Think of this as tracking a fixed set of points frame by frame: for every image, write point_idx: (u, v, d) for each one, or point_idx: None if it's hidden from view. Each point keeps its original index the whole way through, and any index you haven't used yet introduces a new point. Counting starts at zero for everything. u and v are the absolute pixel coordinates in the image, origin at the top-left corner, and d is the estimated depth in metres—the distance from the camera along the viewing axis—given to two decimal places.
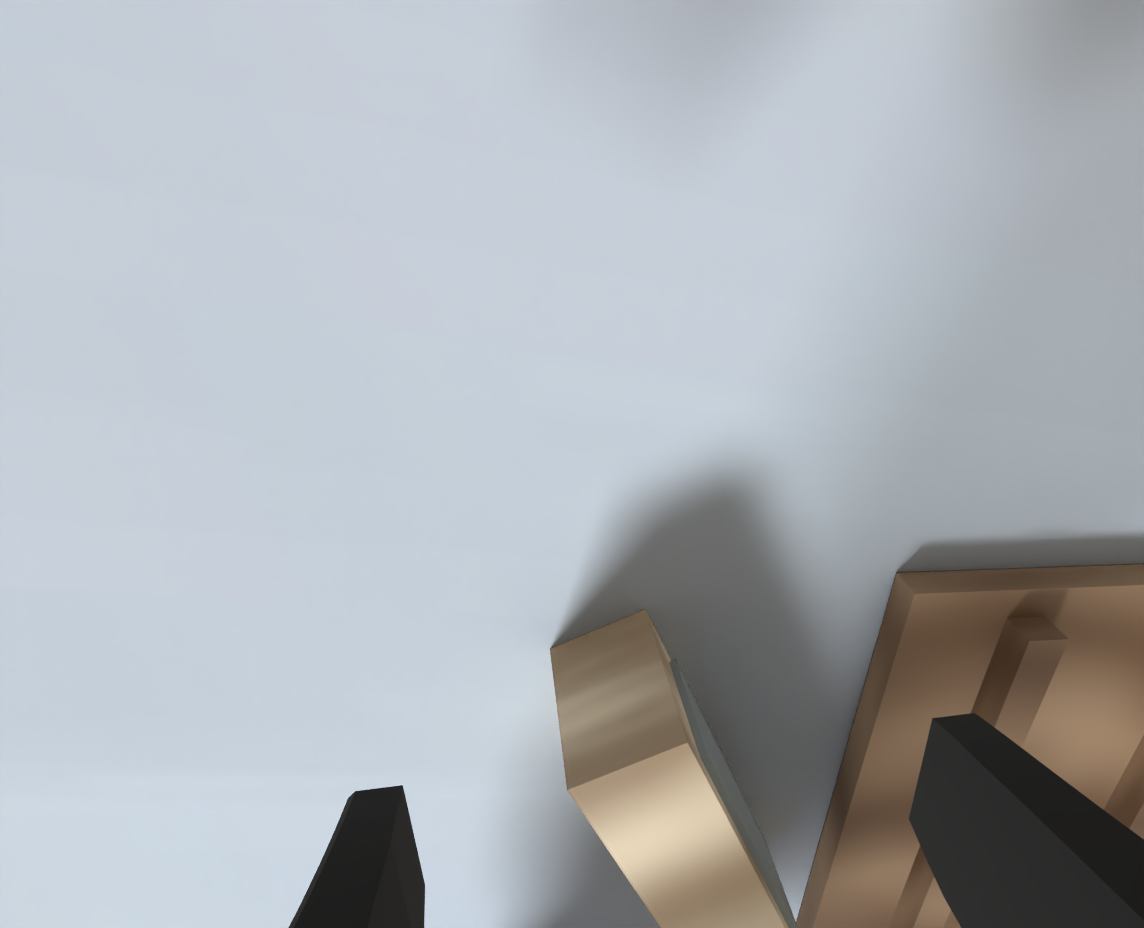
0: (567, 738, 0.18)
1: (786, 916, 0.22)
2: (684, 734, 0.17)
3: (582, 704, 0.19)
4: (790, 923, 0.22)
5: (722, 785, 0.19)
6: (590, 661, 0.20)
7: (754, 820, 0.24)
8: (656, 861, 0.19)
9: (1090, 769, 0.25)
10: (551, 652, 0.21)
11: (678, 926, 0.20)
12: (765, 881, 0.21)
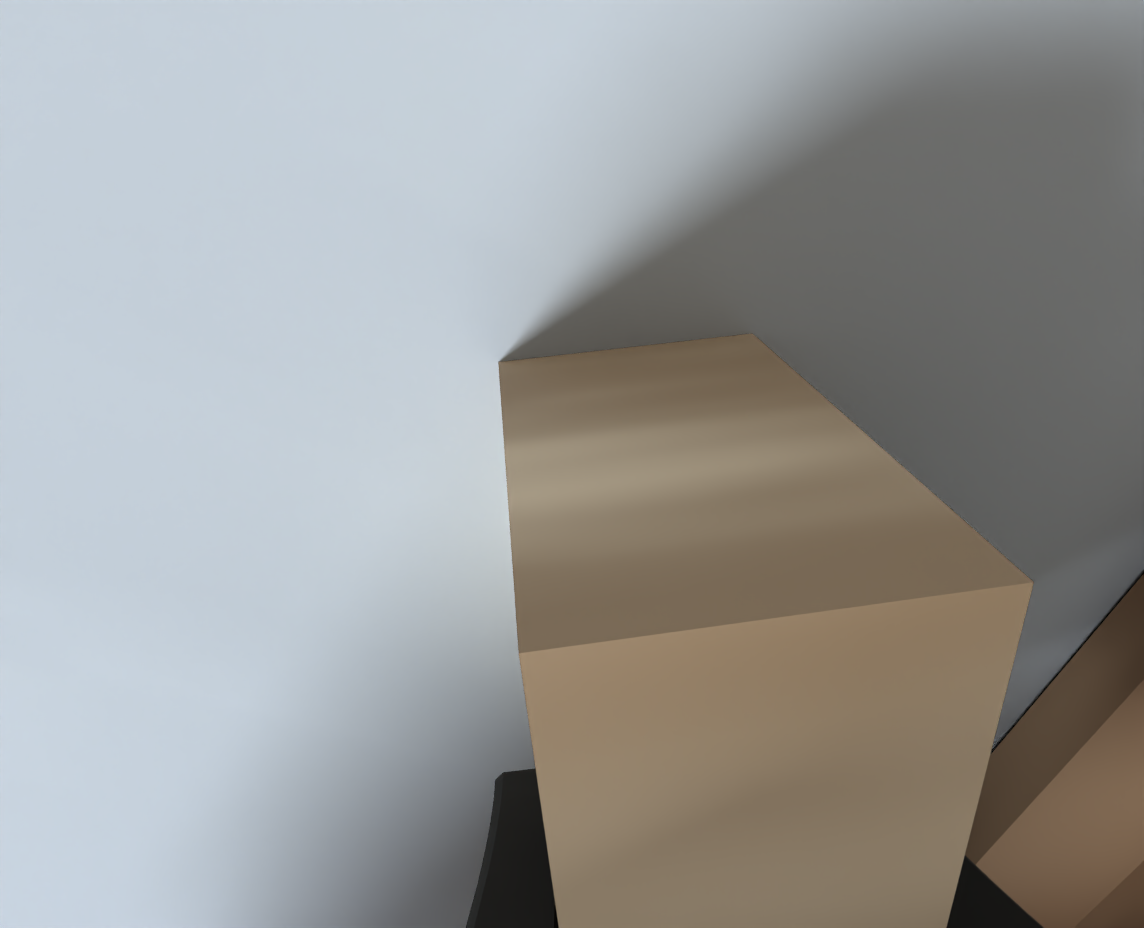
0: (532, 516, 0.05)
1: None
2: (1000, 561, 0.05)
3: (587, 456, 0.06)
4: None
5: None
6: (612, 390, 0.07)
7: None
8: None
9: None
10: (502, 370, 0.08)
11: None
12: None
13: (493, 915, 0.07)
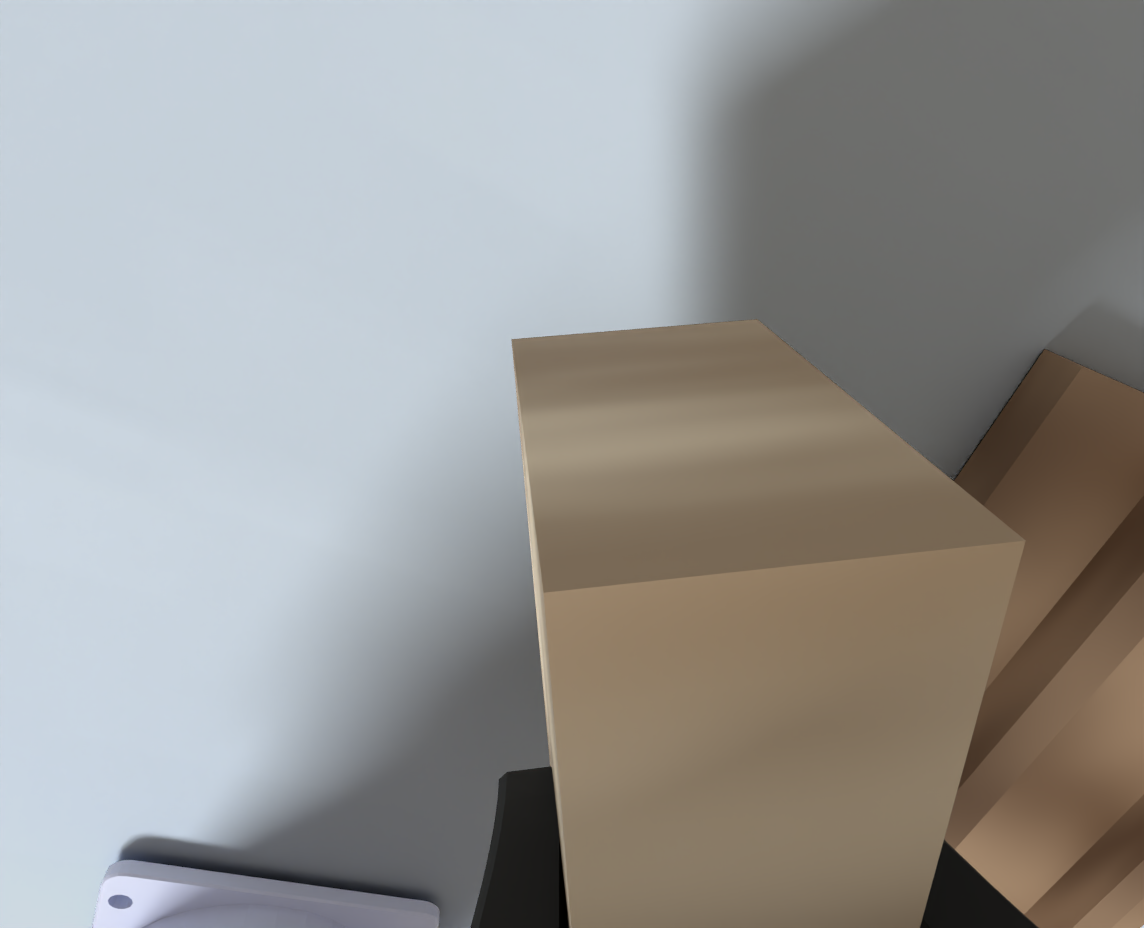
0: (551, 476, 0.06)
1: None
2: (994, 523, 0.05)
3: (602, 425, 0.06)
4: None
5: None
6: (623, 367, 0.08)
7: None
8: None
9: (1134, 755, 0.18)
10: (515, 347, 0.08)
11: None
12: None
13: (498, 914, 0.07)
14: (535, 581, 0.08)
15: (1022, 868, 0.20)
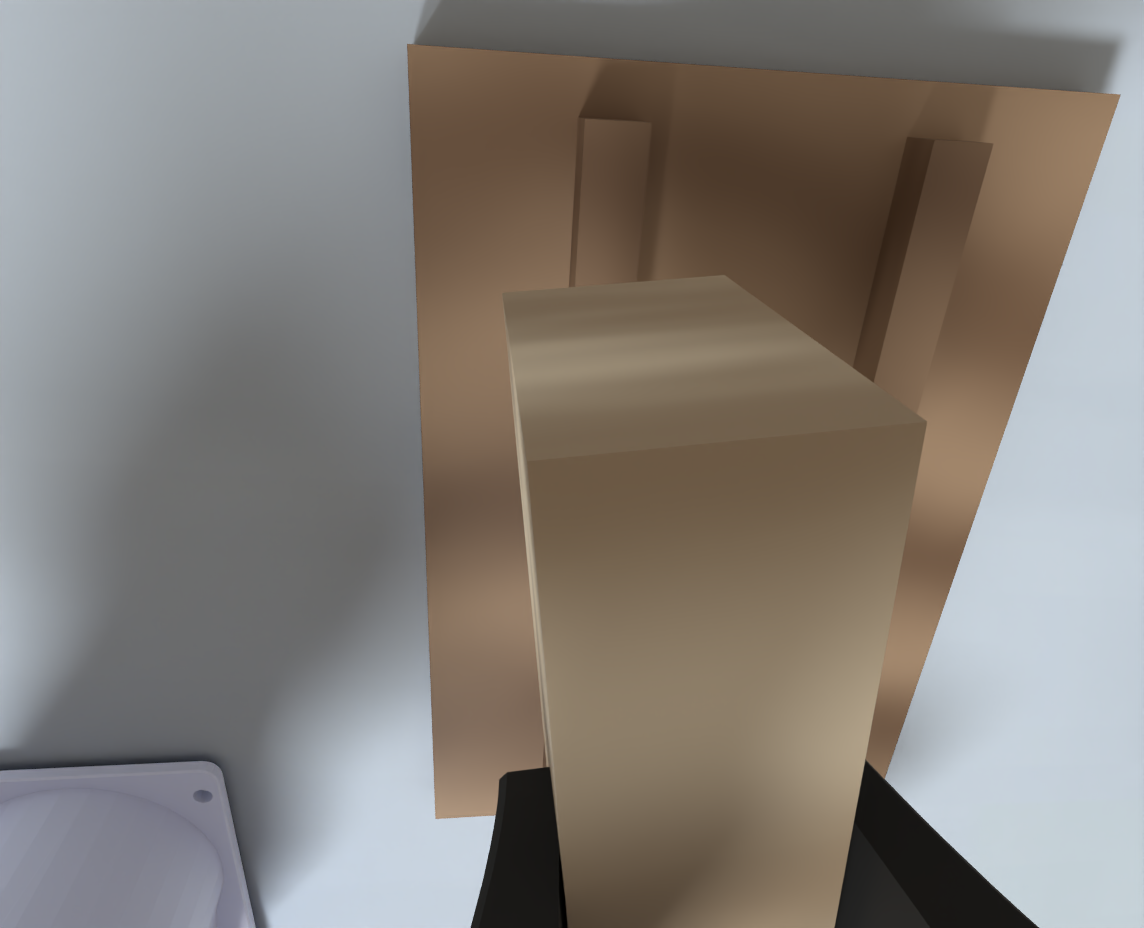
0: (535, 387, 0.07)
1: None
2: (905, 412, 0.06)
3: (582, 351, 0.07)
4: None
5: None
6: (602, 311, 0.09)
7: None
8: (649, 791, 0.07)
9: None
10: (505, 298, 0.09)
11: None
12: None
13: (498, 914, 0.07)
14: (524, 504, 0.09)
15: None
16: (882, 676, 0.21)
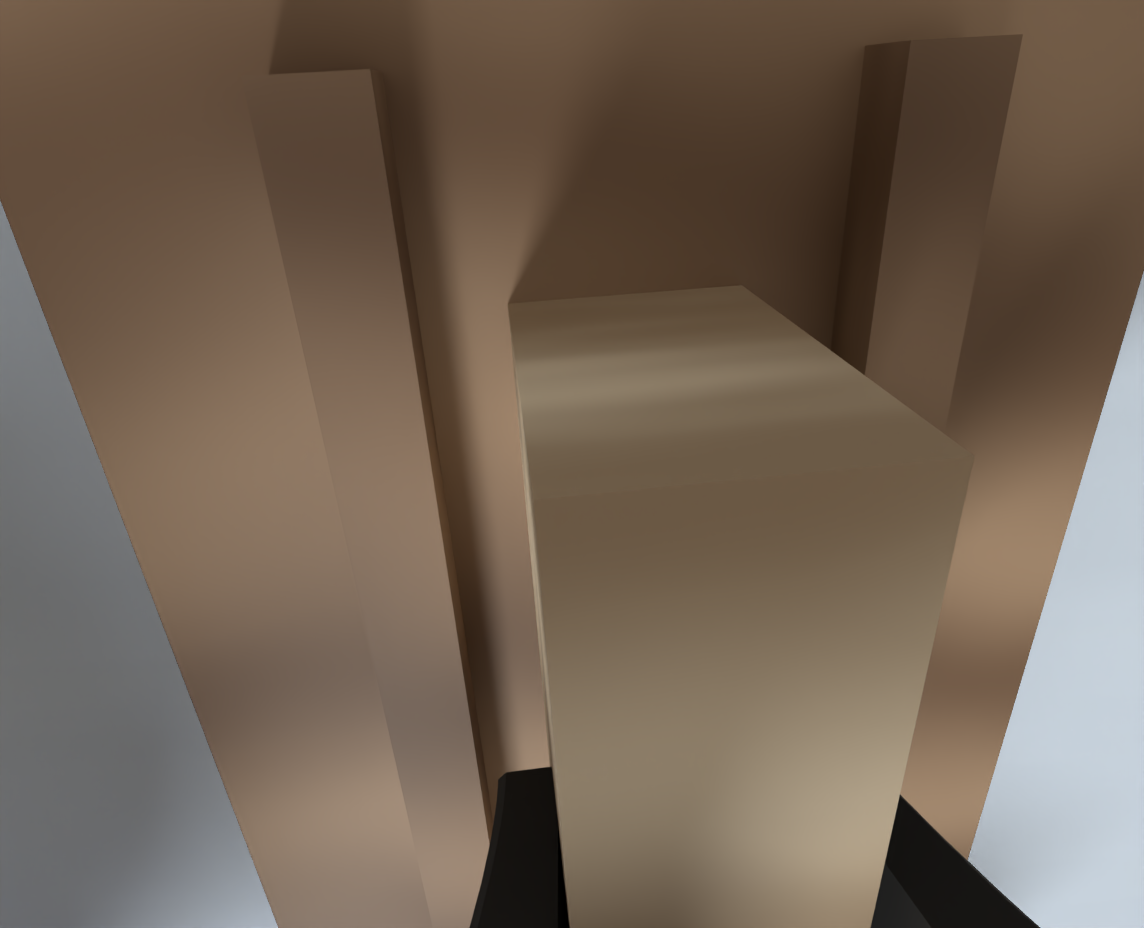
0: (543, 411, 0.06)
1: None
2: (948, 444, 0.05)
3: (592, 371, 0.07)
4: None
5: None
6: (613, 325, 0.08)
7: None
8: (663, 846, 0.06)
9: None
10: (511, 310, 0.09)
11: None
12: None
13: (497, 915, 0.07)
14: None
15: None
16: None
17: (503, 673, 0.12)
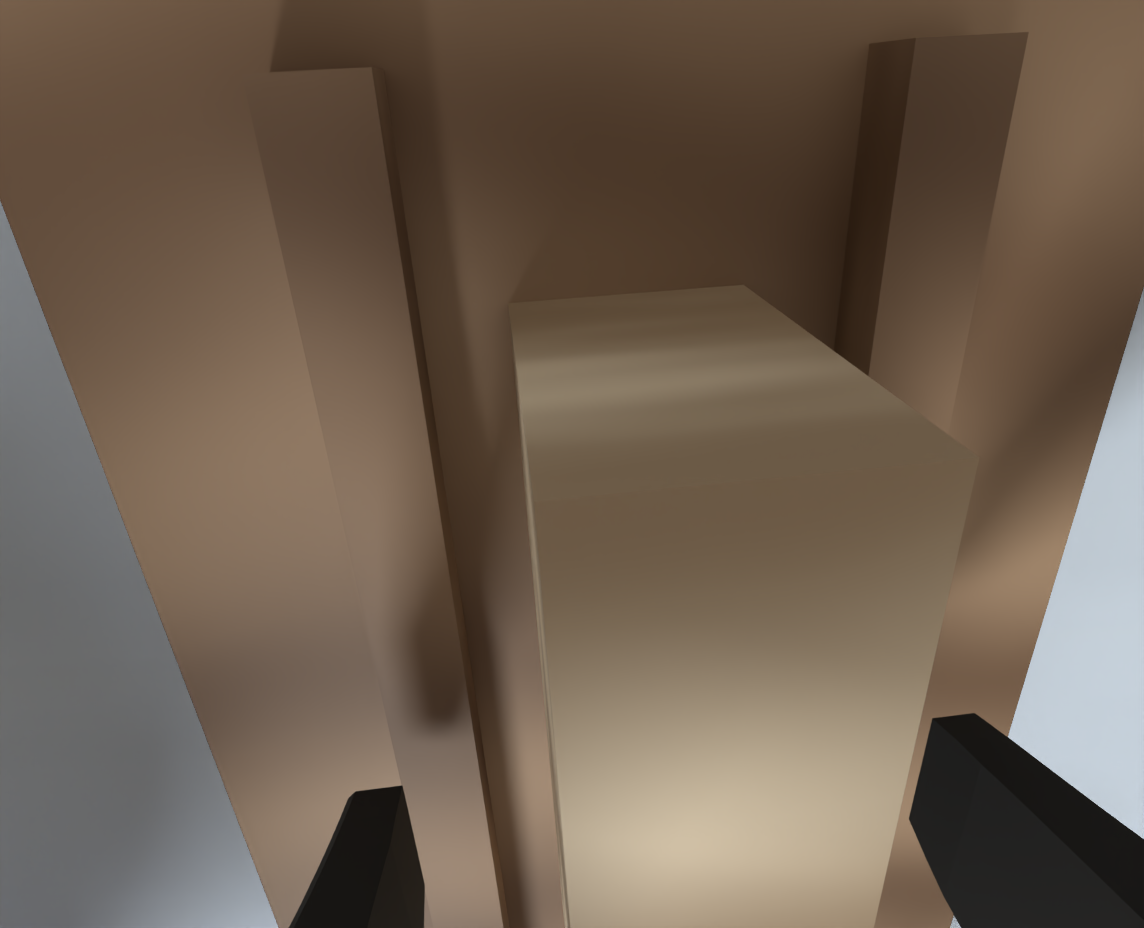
0: (543, 412, 0.06)
1: None
2: (953, 446, 0.05)
3: (592, 371, 0.07)
4: None
5: None
6: (614, 325, 0.08)
7: None
8: (664, 849, 0.06)
9: None
10: (511, 310, 0.09)
11: None
12: None
13: None
14: (530, 530, 0.08)
15: None
16: None
17: (504, 674, 0.12)
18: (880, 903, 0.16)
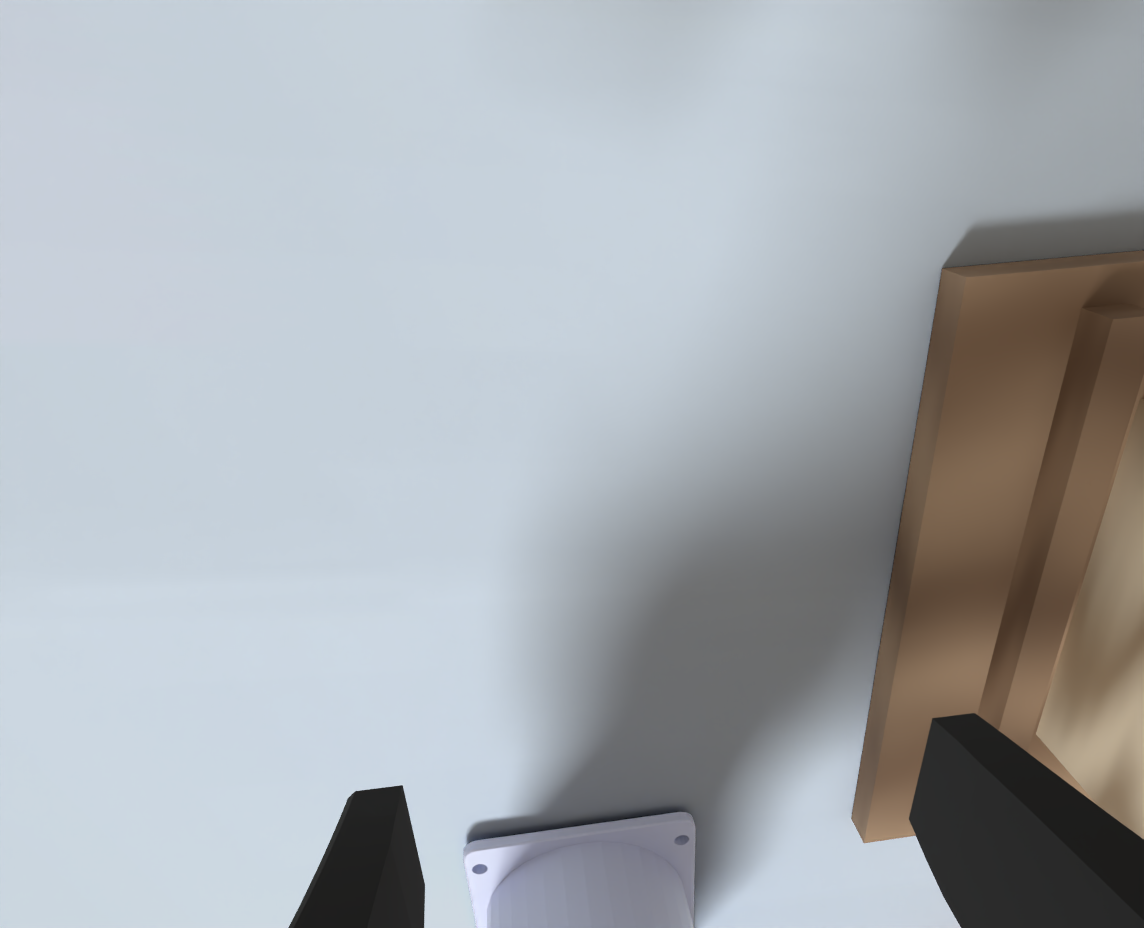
0: None
1: None
2: None
3: None
4: None
5: None
6: None
7: None
8: None
9: None
10: None
11: None
12: None
13: None
14: None
15: None
16: None
17: None
18: None
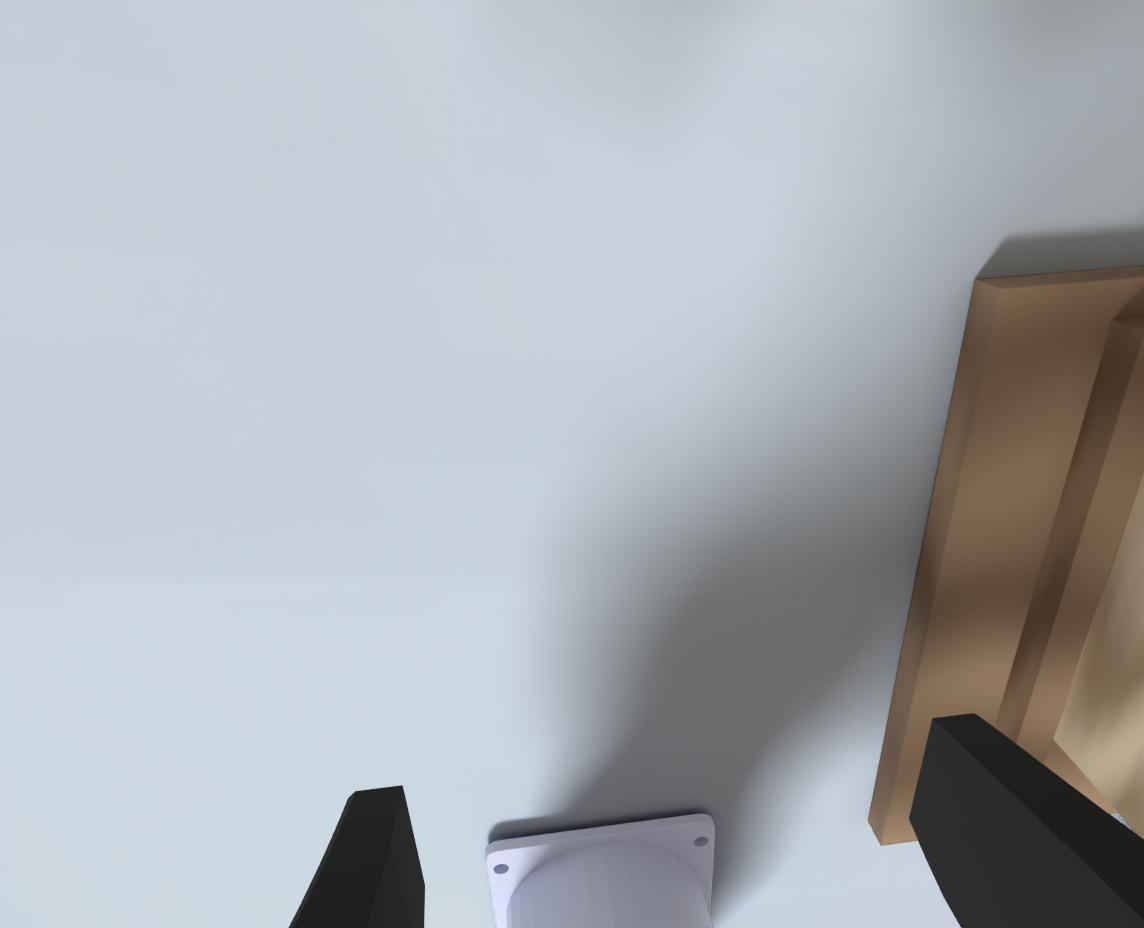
0: None
1: None
2: None
3: None
4: None
5: None
6: None
7: None
8: None
9: None
10: None
11: None
12: None
13: None
14: None
15: None
16: None
17: None
18: None
